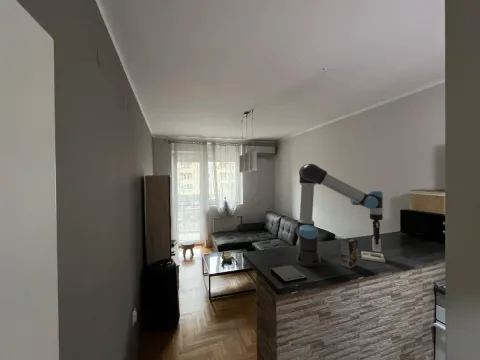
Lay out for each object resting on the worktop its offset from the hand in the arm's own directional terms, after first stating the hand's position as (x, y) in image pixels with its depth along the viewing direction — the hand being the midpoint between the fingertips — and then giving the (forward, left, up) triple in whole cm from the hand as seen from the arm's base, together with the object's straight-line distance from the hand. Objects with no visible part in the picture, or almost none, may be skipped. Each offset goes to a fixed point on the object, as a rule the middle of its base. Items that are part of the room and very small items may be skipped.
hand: (376, 247), depth 151 cm
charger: (0, 0, -2) cm, 2 cm away
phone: (-14, +2, -8) cm, 16 cm away
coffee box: (-17, -21, -7) cm, 28 cm away
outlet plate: (-2, -1, -7) cm, 7 cm away
